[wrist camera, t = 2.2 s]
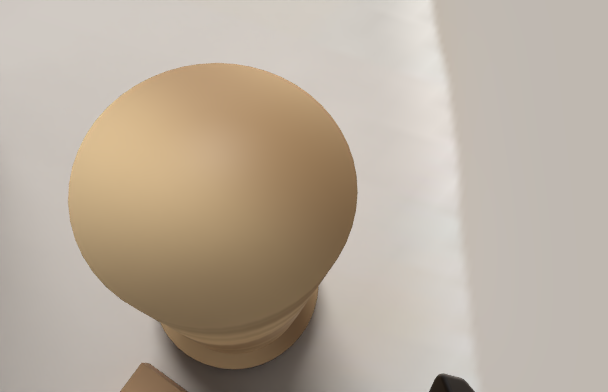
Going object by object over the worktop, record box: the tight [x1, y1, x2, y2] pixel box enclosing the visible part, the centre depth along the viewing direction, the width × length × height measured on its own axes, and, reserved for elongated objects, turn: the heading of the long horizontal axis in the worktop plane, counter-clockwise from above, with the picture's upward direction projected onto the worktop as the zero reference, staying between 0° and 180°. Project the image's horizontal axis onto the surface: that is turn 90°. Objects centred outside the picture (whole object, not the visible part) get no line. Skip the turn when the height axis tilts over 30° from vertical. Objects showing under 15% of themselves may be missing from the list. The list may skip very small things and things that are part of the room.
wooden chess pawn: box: [68, 63, 357, 369], centre depth 13 cm, size 6×6×10 cm
